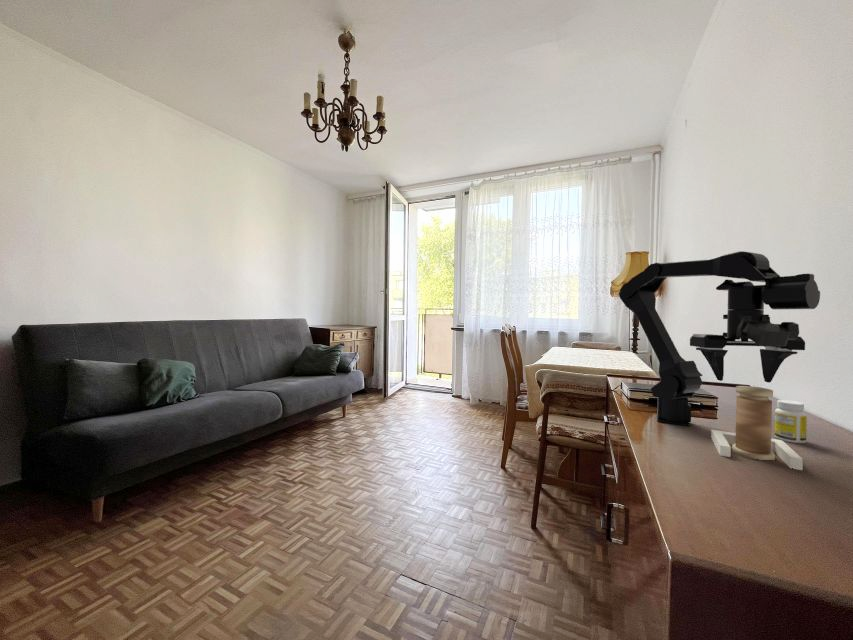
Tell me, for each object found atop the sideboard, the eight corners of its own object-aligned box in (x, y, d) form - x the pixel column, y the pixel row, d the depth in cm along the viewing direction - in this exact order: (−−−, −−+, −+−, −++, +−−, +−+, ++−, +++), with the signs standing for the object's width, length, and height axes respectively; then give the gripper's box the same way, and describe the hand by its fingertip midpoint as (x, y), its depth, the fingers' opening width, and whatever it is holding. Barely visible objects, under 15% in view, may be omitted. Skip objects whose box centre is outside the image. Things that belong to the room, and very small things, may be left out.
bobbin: (735, 455, 65) (736, 389, 65) (729, 446, 70) (730, 384, 70) (779, 463, 62) (780, 393, 61) (769, 452, 66) (770, 387, 66)
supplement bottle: (796, 437, 75) (797, 400, 75) (812, 445, 71) (813, 405, 71) (769, 434, 77) (770, 398, 77) (783, 442, 72) (784, 403, 72)
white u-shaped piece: (720, 455, 65) (720, 445, 65) (711, 438, 74) (711, 429, 74) (802, 470, 59) (802, 459, 59) (781, 450, 68) (781, 440, 68)
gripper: (724, 308, 66) (722, 387, 66) (834, 309, 63) (832, 391, 64) (688, 309, 77) (687, 377, 77) (781, 310, 74) (780, 380, 75)
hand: (743, 381), depth 73 cm, fingers open, 9 cm apart
